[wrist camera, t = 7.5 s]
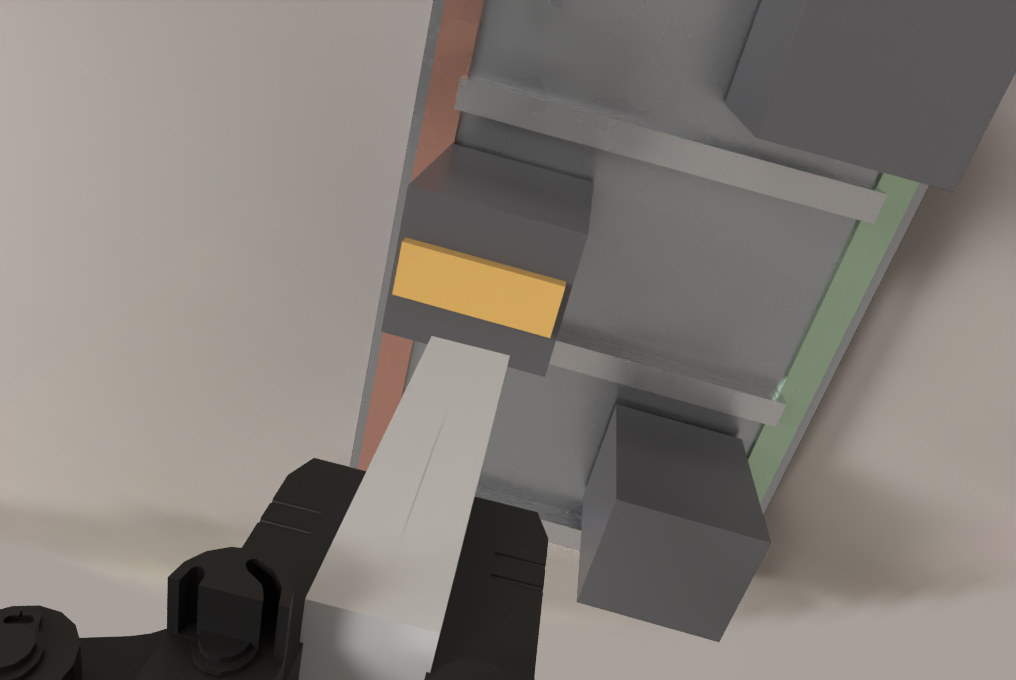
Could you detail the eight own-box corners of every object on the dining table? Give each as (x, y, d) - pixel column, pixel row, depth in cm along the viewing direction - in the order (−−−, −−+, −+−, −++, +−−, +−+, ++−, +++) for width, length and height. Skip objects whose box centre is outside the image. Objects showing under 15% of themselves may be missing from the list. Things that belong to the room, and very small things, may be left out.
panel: (361, 453, 34) (339, 492, 32) (489, -232, 23) (472, -261, 20) (721, 554, 34) (730, 602, 31) (1032, -86, 23) (1088, -96, 20)
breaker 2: (583, 494, 31) (576, 601, 26) (616, 404, 29) (616, 499, 24) (701, 527, 31) (719, 642, 25) (741, 439, 29) (770, 542, 23)
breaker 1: (427, 263, 28) (377, 337, 22) (451, 143, 26) (404, 188, 20) (558, 300, 27) (543, 383, 22) (593, 182, 25) (587, 239, 20)
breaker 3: (724, 103, 24) (755, 137, 18) (780, -52, 22) (833, -65, 17) (877, 145, 24) (953, 191, 18) (946, -7, 22) (1055, -5, 16)
